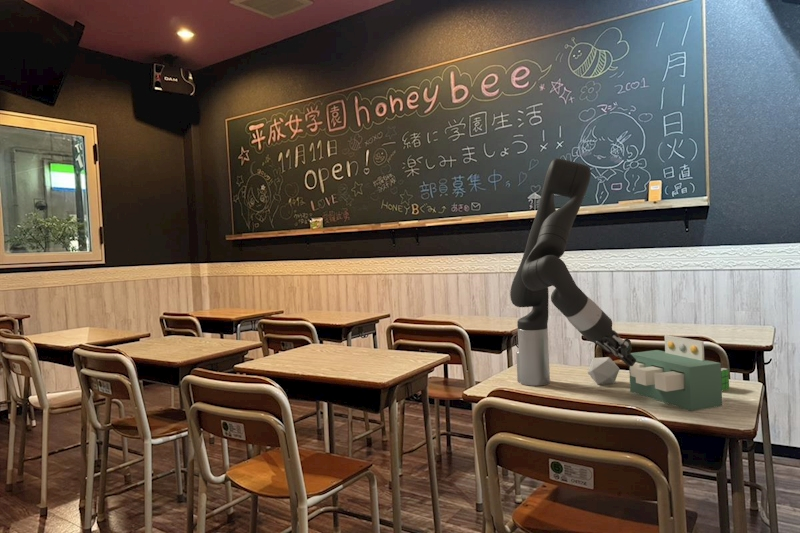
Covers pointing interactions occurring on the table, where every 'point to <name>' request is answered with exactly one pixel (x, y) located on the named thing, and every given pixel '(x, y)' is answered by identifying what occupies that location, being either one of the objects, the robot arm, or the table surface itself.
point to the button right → (669, 381)
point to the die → (603, 370)
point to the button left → (636, 365)
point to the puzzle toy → (725, 378)
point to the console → (698, 374)
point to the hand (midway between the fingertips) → (632, 363)
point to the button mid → (647, 375)
